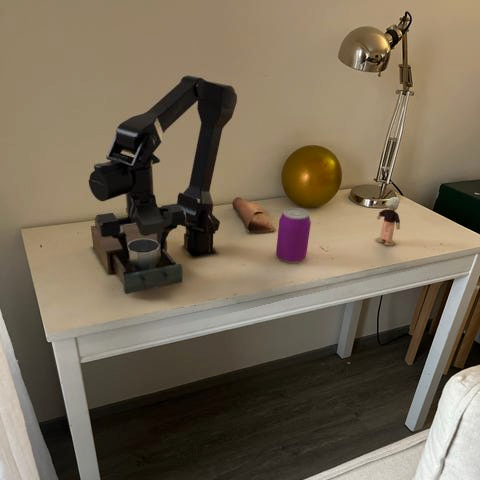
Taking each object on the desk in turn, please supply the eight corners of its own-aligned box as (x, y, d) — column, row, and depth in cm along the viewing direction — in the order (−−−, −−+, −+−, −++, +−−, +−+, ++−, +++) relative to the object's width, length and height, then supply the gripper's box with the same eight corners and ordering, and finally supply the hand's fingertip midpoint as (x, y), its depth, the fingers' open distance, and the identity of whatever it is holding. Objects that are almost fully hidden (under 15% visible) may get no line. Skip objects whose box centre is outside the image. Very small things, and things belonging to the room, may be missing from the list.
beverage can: (279, 265, 125) (284, 219, 118) (272, 250, 131) (276, 206, 124) (309, 263, 126) (316, 218, 119) (301, 249, 132) (306, 206, 125)
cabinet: (167, 262, 123) (166, 240, 119) (108, 274, 117) (106, 251, 114) (148, 238, 133) (146, 217, 130) (93, 247, 127) (90, 226, 124)
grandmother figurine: (400, 244, 138) (411, 199, 130) (393, 248, 135) (404, 203, 128) (375, 234, 142) (385, 191, 134) (368, 238, 139) (377, 194, 132)
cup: (154, 259, 119) (153, 236, 116) (165, 274, 114) (164, 250, 110) (124, 264, 116) (122, 241, 113) (134, 280, 111) (132, 255, 108)
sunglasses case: (277, 229, 140) (266, 211, 136) (255, 243, 140) (244, 224, 136) (258, 205, 154) (248, 187, 150) (238, 217, 155) (228, 200, 151)
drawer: (189, 290, 111) (188, 273, 109) (130, 303, 106) (129, 286, 103) (162, 256, 124) (161, 240, 121) (108, 266, 118) (106, 250, 116)
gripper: (104, 208, 95) (112, 280, 103) (196, 195, 102) (196, 263, 111) (90, 188, 103) (98, 256, 111) (176, 177, 110) (177, 242, 119)
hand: (143, 255), depth 113 cm, fingers closed on cup, 7 cm apart
